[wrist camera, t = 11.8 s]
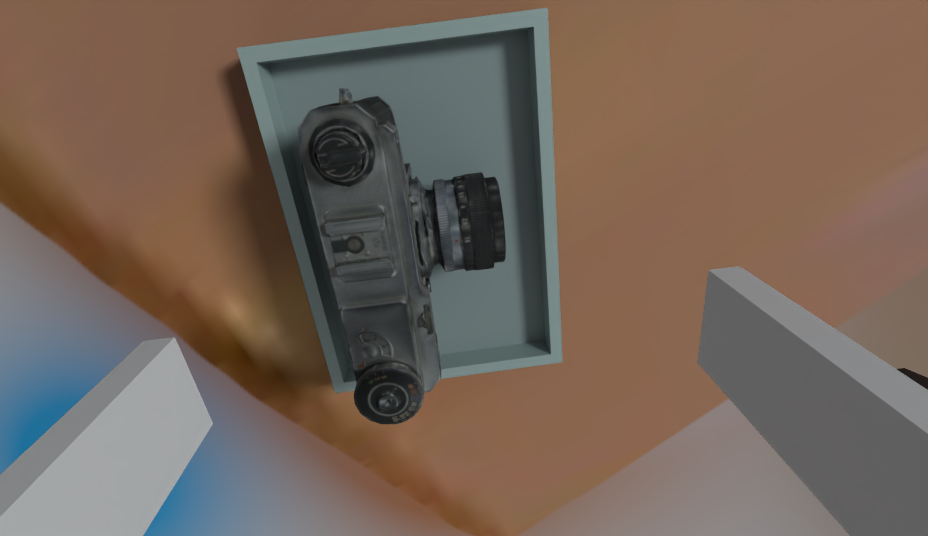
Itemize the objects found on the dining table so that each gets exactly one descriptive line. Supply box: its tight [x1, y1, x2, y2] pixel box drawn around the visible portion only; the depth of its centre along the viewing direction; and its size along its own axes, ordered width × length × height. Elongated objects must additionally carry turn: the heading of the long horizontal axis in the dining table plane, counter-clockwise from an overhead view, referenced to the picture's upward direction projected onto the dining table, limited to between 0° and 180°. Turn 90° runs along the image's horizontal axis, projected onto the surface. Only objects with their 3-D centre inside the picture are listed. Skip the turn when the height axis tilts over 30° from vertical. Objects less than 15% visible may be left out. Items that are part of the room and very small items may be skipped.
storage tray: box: [237, 8, 562, 393], centre depth 29 cm, size 23×17×2 cm
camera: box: [298, 88, 506, 424], centre depth 26 cm, size 18×9×10 cm, turn 7°
